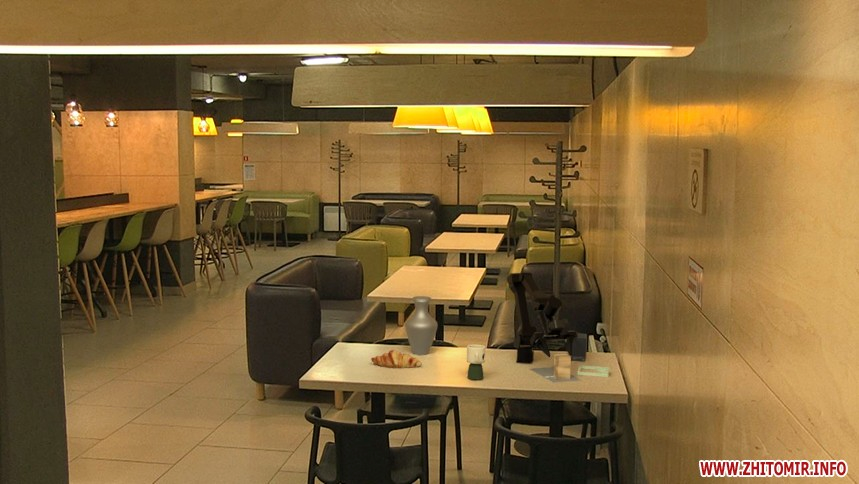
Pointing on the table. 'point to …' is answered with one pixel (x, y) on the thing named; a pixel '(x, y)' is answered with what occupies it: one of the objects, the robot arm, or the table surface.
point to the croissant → (396, 360)
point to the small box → (579, 348)
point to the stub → (562, 366)
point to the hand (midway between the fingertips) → (560, 356)
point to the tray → (603, 370)
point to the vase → (421, 327)
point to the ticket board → (552, 374)
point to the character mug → (475, 361)
